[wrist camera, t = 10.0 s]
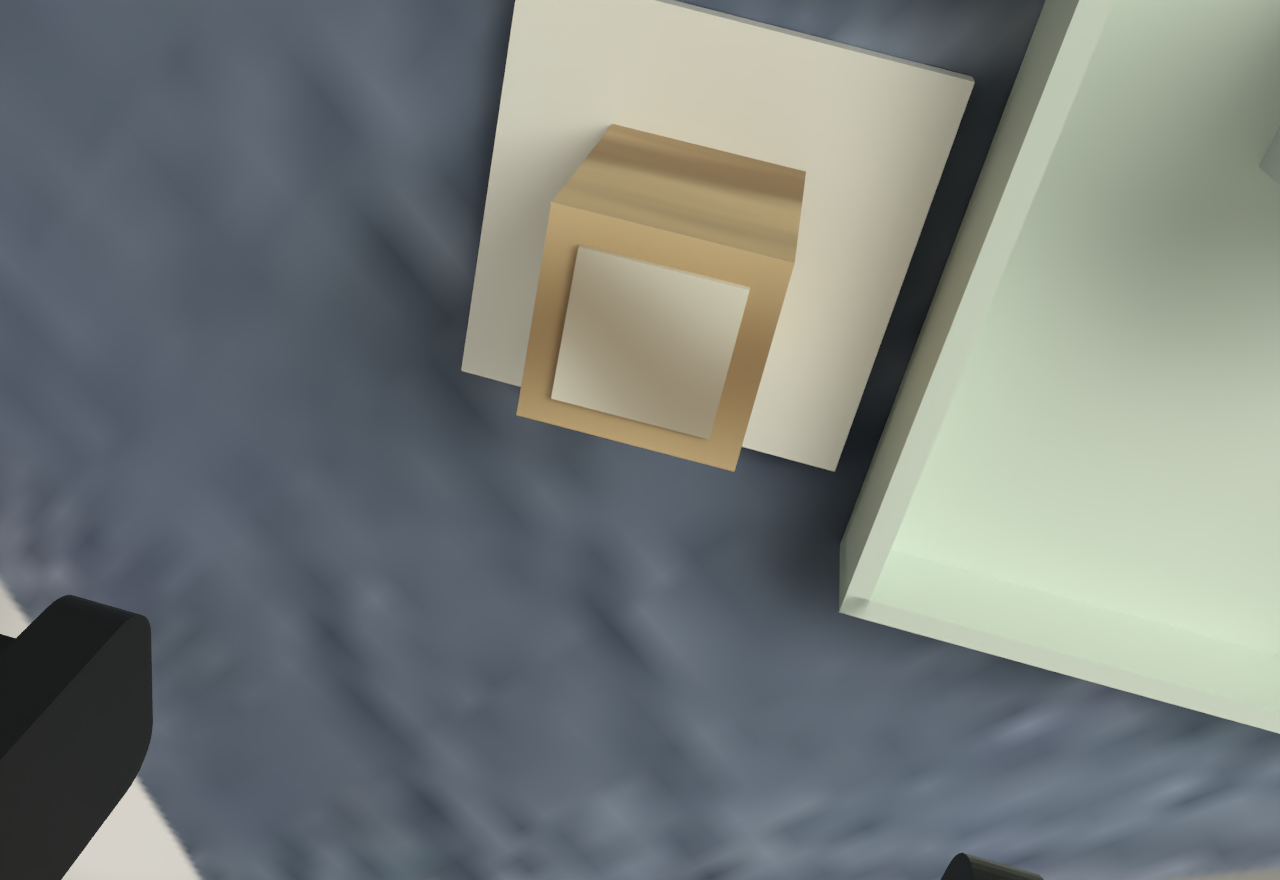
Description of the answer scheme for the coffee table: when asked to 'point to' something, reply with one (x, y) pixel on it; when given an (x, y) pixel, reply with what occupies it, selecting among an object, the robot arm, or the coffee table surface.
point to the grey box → (1272, 159)
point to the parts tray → (1102, 374)
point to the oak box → (661, 294)
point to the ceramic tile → (740, 124)
